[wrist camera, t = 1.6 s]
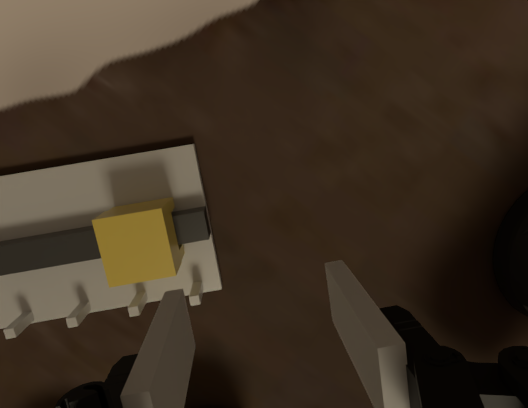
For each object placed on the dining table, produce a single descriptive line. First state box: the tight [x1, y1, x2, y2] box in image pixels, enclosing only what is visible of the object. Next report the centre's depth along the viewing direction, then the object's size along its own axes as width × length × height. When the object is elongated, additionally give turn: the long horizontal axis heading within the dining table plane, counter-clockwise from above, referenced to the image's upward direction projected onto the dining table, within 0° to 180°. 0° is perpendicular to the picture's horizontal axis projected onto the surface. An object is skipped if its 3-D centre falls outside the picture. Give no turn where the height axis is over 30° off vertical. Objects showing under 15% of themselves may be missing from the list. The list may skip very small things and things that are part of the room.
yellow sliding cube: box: [92, 197, 185, 288], centre depth 31 cm, size 5×5×5 cm
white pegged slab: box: [0, 144, 222, 339], centre depth 33 cm, size 24×13×5 cm, turn 99°
